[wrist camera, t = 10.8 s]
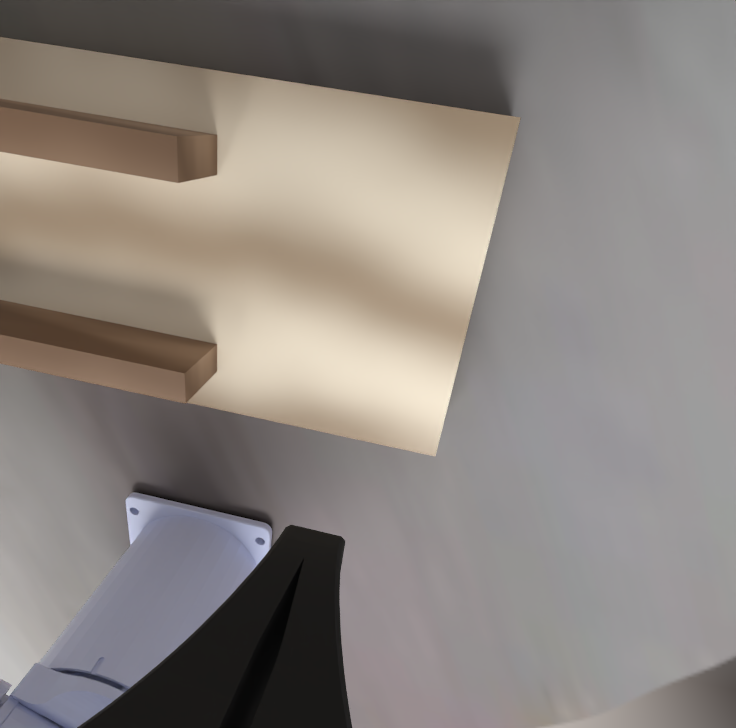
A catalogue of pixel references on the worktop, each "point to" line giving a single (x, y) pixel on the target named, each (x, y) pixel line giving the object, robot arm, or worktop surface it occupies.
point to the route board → (242, 239)
